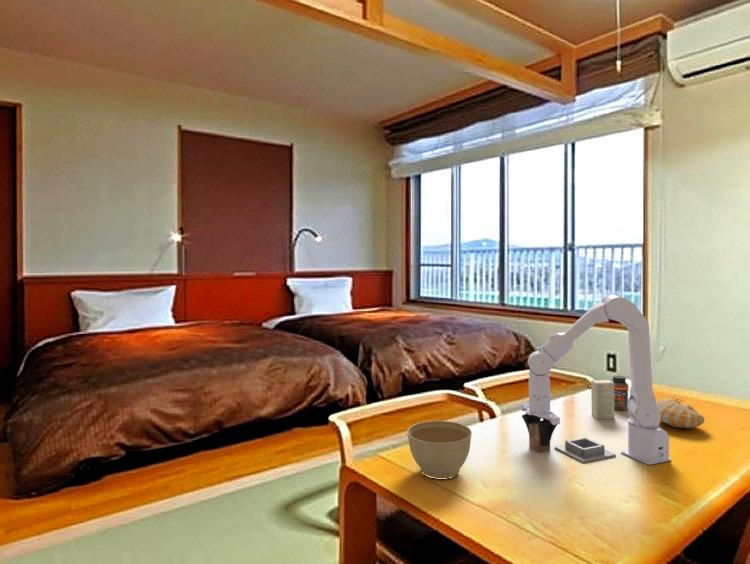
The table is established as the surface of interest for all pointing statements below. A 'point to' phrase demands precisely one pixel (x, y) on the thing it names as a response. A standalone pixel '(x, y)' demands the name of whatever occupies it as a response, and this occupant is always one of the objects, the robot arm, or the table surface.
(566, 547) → the table surface
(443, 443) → the planter bowl
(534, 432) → the walnut block
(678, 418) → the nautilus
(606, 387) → the skincare box
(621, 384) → the supplement bottle
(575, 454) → the stand
